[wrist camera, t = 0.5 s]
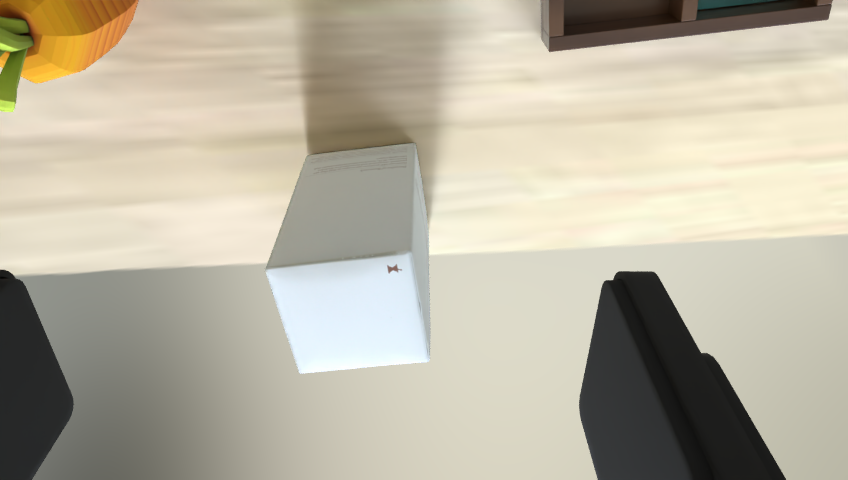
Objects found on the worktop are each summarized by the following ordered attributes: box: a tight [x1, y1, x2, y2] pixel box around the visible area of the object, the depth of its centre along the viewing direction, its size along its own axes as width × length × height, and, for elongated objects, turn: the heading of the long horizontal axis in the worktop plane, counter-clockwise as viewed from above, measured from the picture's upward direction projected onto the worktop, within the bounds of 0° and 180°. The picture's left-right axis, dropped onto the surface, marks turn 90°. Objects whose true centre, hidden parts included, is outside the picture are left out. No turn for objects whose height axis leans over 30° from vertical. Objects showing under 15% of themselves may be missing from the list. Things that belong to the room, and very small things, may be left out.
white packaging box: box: [265, 143, 430, 373], centre depth 36 cm, size 7×7×13 cm
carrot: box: [0, 0, 138, 112], centre depth 27 cm, size 5×5×15 cm
